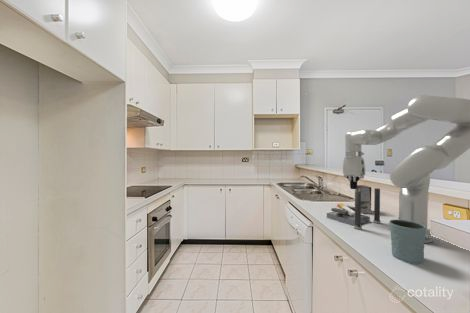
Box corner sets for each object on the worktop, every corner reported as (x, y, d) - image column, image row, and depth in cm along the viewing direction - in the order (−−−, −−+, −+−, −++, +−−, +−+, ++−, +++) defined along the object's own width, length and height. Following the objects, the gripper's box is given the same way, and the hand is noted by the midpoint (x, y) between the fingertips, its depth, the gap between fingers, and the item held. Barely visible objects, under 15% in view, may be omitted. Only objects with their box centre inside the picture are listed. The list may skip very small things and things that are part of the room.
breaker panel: (370, 221, 114) (370, 210, 114) (353, 226, 106) (353, 214, 106) (342, 213, 128) (342, 204, 127) (326, 217, 120) (326, 207, 120)
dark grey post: (381, 223, 111) (382, 188, 110) (378, 224, 109) (378, 189, 109) (375, 221, 113) (375, 188, 113) (372, 222, 112) (372, 188, 112)
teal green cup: (414, 267, 68) (415, 230, 68) (382, 253, 77) (382, 221, 77) (432, 260, 72) (432, 226, 72) (399, 248, 82) (399, 217, 81)
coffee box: (371, 213, 128) (372, 187, 127) (360, 213, 128) (360, 187, 128) (364, 209, 137) (364, 185, 136) (354, 209, 138) (354, 184, 137)
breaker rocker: (355, 214, 115) (356, 212, 115) (350, 215, 113) (351, 213, 113) (341, 205, 123) (342, 202, 122) (336, 206, 121) (337, 203, 120)
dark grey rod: (363, 229, 102) (363, 191, 102) (359, 230, 101) (359, 192, 100) (356, 227, 105) (356, 190, 105) (352, 228, 104) (352, 191, 103)
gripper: (371, 154, 110) (372, 190, 110) (344, 154, 123) (344, 186, 123) (363, 154, 106) (363, 191, 106) (336, 155, 119) (336, 187, 119)
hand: (353, 188), depth 114 cm, fingers closed
